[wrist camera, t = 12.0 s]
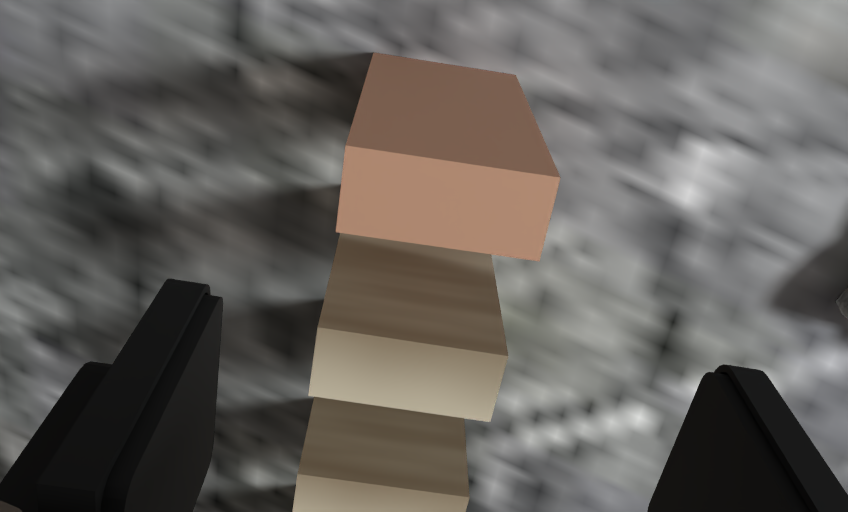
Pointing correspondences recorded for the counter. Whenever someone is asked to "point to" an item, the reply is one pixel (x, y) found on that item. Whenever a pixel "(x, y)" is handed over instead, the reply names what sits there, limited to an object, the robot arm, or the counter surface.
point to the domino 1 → (446, 161)
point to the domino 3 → (381, 460)
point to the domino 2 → (410, 329)
